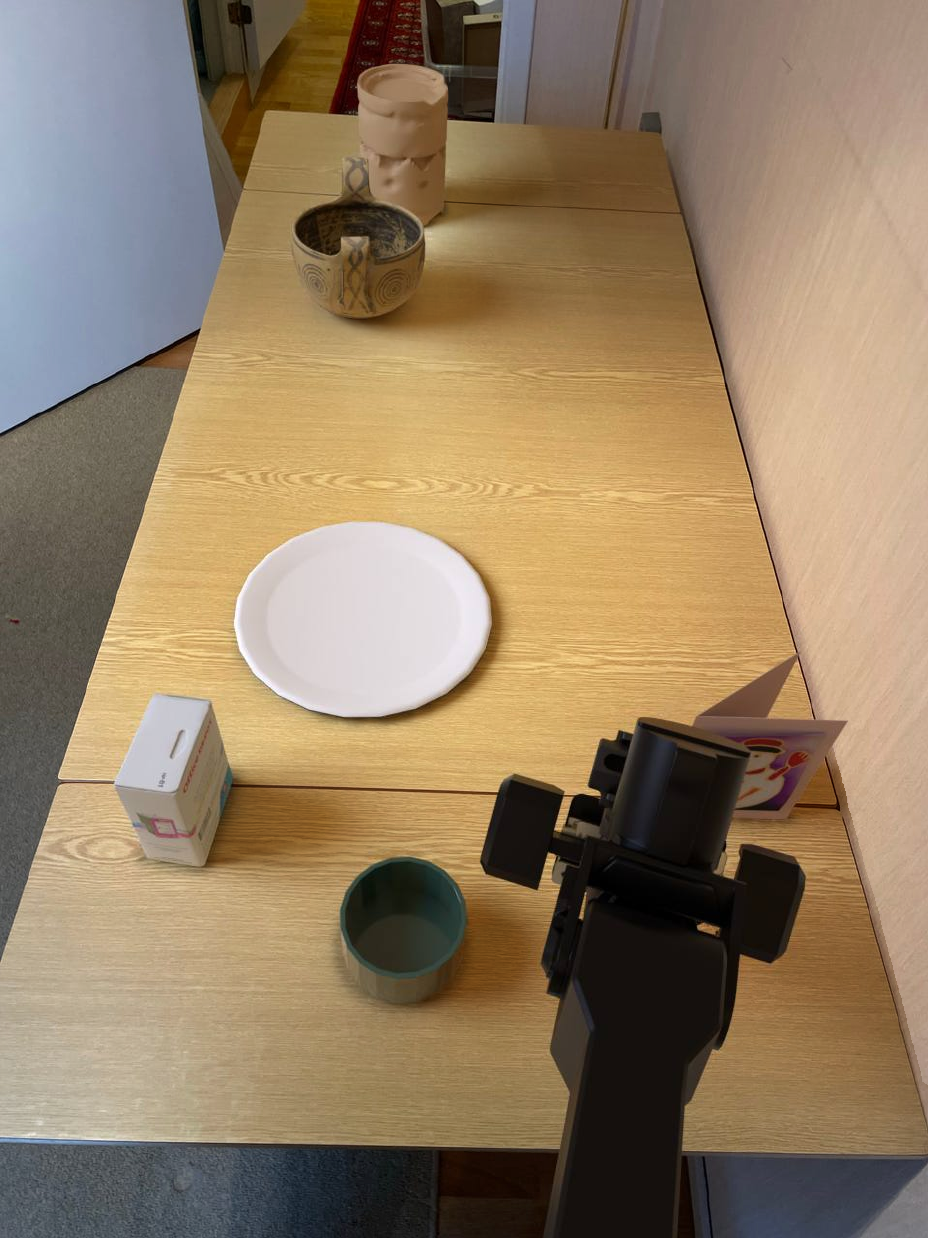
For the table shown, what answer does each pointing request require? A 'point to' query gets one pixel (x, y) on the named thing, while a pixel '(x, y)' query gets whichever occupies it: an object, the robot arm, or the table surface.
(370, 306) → the ceramic bowl
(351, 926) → the green and tan cup
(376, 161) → the container
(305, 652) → the plate
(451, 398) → the table surface
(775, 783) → the greeting card
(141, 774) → the ink box
